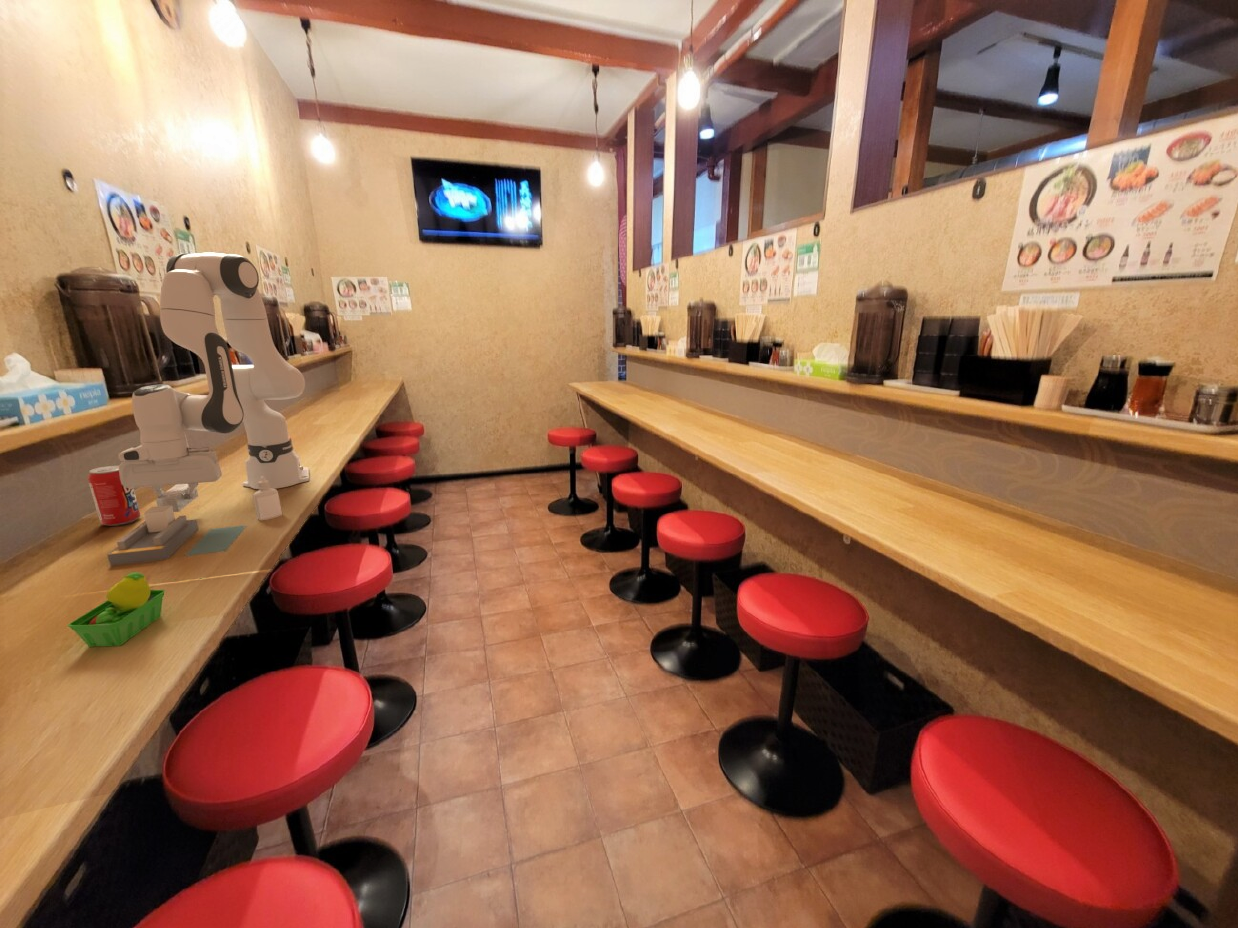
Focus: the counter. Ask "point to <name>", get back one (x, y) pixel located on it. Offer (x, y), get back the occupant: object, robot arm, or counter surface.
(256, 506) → the eye dropper bottle
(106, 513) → the soda can
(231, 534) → the mat
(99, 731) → the counter surface
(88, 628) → the fruit basket
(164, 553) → the switch panel
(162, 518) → the switch tab
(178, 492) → the bar
